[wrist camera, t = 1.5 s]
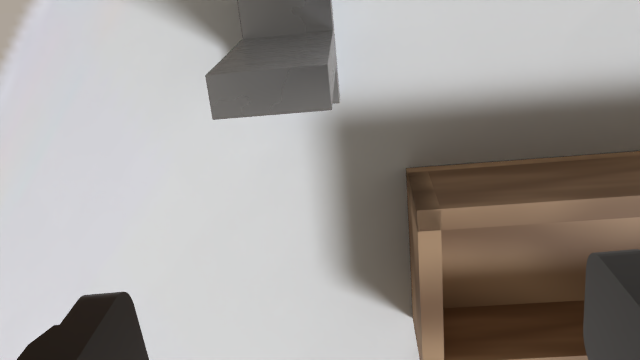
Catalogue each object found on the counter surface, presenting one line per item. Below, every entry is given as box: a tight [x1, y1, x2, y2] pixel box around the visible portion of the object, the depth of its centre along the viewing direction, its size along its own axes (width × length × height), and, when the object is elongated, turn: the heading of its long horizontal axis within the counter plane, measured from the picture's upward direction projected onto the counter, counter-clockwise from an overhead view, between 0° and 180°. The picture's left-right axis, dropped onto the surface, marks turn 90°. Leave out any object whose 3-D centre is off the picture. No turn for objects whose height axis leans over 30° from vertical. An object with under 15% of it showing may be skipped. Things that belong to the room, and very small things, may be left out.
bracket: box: [205, 0, 340, 120], centre depth 24 cm, size 5×4×9 cm
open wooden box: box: [406, 151, 640, 360], centre depth 29 cm, size 9×18×5 cm, turn 96°
